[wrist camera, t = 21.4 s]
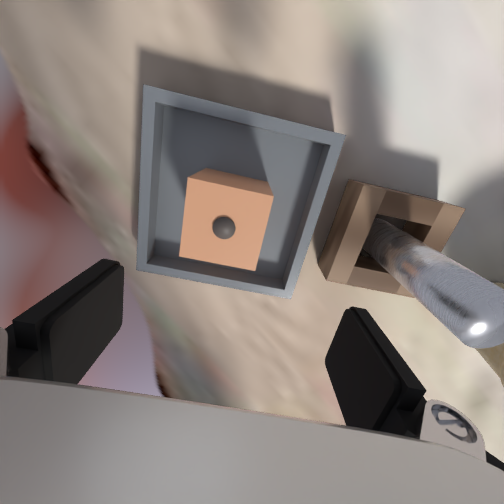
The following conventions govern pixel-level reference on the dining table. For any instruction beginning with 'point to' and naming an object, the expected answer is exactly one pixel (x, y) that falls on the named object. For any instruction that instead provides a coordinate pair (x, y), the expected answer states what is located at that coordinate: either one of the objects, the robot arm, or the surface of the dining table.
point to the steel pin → (441, 285)
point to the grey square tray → (235, 162)
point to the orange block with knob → (225, 218)
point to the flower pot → (495, 354)
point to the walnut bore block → (360, 221)
